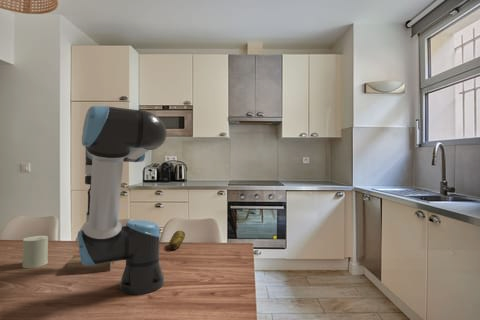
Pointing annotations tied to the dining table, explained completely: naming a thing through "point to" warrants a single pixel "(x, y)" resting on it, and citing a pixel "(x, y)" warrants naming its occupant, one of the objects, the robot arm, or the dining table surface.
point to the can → (35, 251)
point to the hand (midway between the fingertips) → (94, 228)
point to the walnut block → (77, 267)
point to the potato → (176, 239)
